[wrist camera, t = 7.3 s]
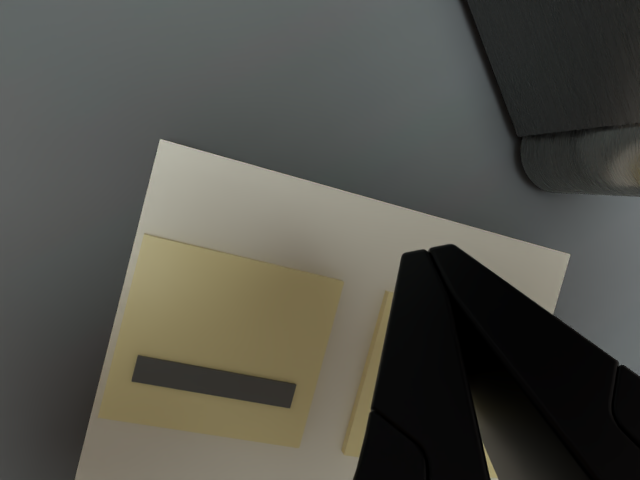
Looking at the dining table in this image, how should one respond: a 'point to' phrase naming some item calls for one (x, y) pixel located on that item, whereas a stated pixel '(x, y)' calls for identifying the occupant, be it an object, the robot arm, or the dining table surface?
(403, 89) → the dining table surface
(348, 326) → the label board
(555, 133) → the swing panel
